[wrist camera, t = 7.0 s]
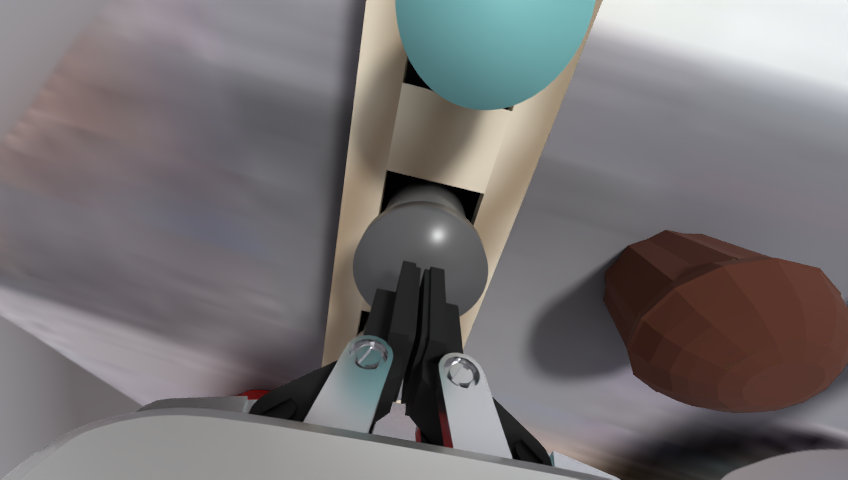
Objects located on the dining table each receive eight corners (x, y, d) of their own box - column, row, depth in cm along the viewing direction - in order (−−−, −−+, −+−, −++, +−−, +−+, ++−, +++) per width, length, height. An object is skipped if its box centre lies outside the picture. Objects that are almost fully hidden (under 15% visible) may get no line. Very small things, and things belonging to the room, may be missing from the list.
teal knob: (557, -26, 14) (639, -103, 8) (510, 114, 16) (547, 129, 11) (426, -66, 13) (420, -173, 8) (399, 86, 16) (379, 85, 10)
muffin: (582, 338, 28) (650, 455, 19) (585, 230, 24) (676, 318, 15) (725, 321, 27) (870, 438, 18) (758, 202, 22) (978, 280, 13)
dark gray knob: (486, 186, 18) (508, 229, 13) (457, 270, 21) (465, 337, 15) (386, 161, 18) (363, 195, 12) (370, 250, 20) (345, 312, 15)
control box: (591, -62, 16) (649, -119, 12) (438, 362, 30) (438, 410, 26) (398, -122, 15) (382, -207, 11) (333, 341, 30) (315, 387, 25)
